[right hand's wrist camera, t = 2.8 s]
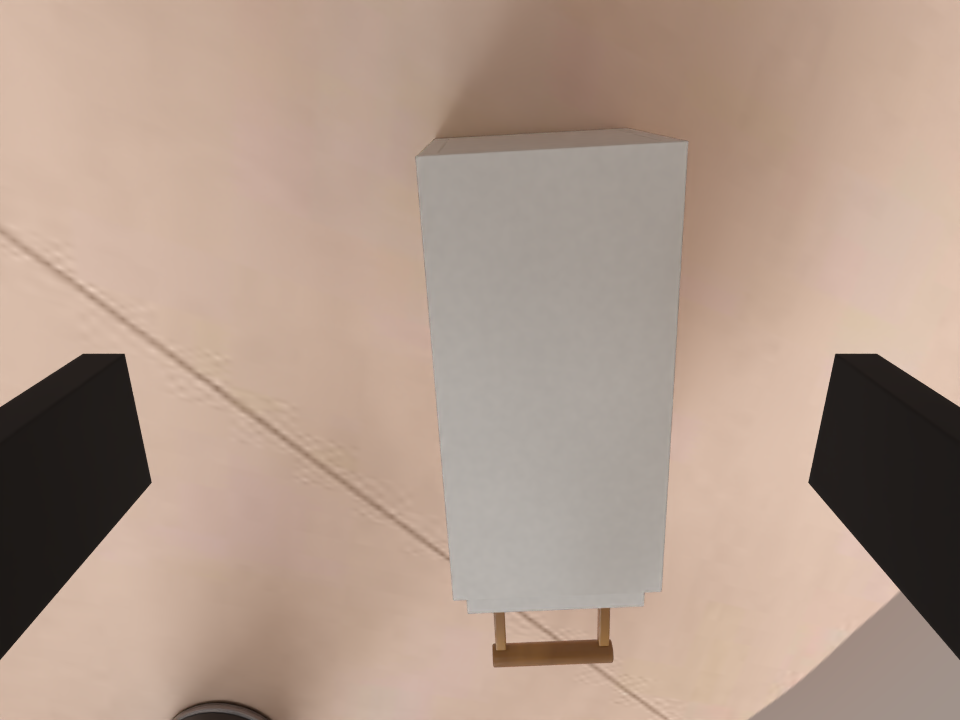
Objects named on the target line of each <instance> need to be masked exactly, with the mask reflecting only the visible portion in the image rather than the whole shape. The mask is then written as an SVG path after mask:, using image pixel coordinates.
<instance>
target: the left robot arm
mask: <svg viewBox="0 0 960 720" xmlns="http://www.w3.org/2000/svg"><path fill="white" fill-rule="evenodd" d="M173 720H268V719H266V718H265V717H263V716H262V715H260V714H258V713H256V712H254V711H252V710H250V709H247V708H244V707H241V706H237V705H232V704H225V703H209V704H202V705H197V706H194V707H191V708H189V709H186V710H184V711H183V712H181V713H179V714H178V715H177V716H176V717H175V718H174V719H173Z"/></svg>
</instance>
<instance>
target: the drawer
mask: <svg viewBox="0 0 960 720" xmlns="http://www.w3.org/2000/svg"><path fill="white" fill-rule="evenodd" d="M644 593H645V592H643V593H620V594H596V595H573V596H549V597H526V598H502V599H479V600H467V611H468V614H473V613H494V625H495V642H496V644H493V645H492V648H493V666H494V667H518V666H542V665H567V664H592V663H612V662H613V647H612V642H611V640H610V639H609V629H610V608H616V607H639V606H644ZM592 608H598V630H597V640H573V641H549V642H525V643H506V632H505V612H521V611H544V610H568V609H592Z"/></svg>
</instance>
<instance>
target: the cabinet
mask: <svg viewBox="0 0 960 720" xmlns="http://www.w3.org/2000/svg"><path fill="white" fill-rule="evenodd" d="M687 157H688V141H686V140H680V139H676V138H671V137H666V136H662V135H657V134H653V133H648V132H643V131H639V130H634V129H630V128H618V129H600V130H582V131H564V132H547V133H529V134H511V135H493V136H475V137H457V138H440V139H434V140H433V141H432V142H431V143H430V144H429V145H428V146H426V147H425V148H424V149H423V150H422V151H421V152H420V153H419V154H418V155H417V156H416V157H415V159H416V170H417V182H418V194H419V205H420V217H421V229H422V241H423V252H424V264H425V276H426V287H427V299H428V311H429V322H430V334H431V346H432V358H433V369H434V381H435V393H436V404H437V416H438V428H439V439H440V451H441V463H442V475H443V486H444V498H445V510H446V521H447V533H448V545H449V556H450V568H451V580H452V592H453V600H454V601H455V600H479V599H502V598H526V597H549V596H573V595H596V594H620V593H643V592H661V591H662V577H663V560H664V543H665V527H666V510H667V493H668V476H669V459H670V443H671V426H672V409H673V392H674V375H675V359H676V342H677V325H678V308H679V291H680V275H681V258H682V241H683V224H684V207H685V191H686V174H687Z"/></svg>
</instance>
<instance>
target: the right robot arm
mask: <svg viewBox="0 0 960 720" xmlns="http://www.w3.org/2000/svg"><path fill="white" fill-rule="evenodd" d="M151 483H152V482H151V477H150V473H149V468H148V463H147V458H146V454H145V449H144V444H143V439H142V434H141V430H140V425H139V420H138V415H137V411H136V406H135V401H134V396H133V392H132V387H131V382H130V377H129V372H128V368H127V363H126V358H125V354H82V355H80V356H79V357H77V358H76V359H74V360H73V361H71V362H70V363H68V364H67V365H65V366H63V367H62V368H60V369H59V370H57V371H56V372H54V373H53V374H51V375H49V376H48V377H46V378H45V379H43V380H42V381H40V382H39V383H37V384H35V385H34V386H32V387H31V388H29V389H28V390H26V391H25V392H23V393H21V394H20V395H18V396H17V397H15V398H14V399H12V400H11V401H9V402H8V403H6V404H4V405H3V406H1V407H0V660H1V658H2V657H3V656H4V655H5V654H6V653H7V651H8V650H9V649H10V648H11V647H12V645H13V644H14V643H15V642H16V641H17V640H18V638H19V637H20V636H21V635H22V634H23V633H24V631H25V630H26V629H27V628H28V627H29V626H30V624H31V623H32V622H33V621H34V620H35V619H36V617H37V616H38V615H39V614H40V613H41V612H42V610H43V609H44V608H45V607H46V606H47V605H48V603H49V602H50V601H51V600H52V599H53V598H54V596H55V595H56V594H57V593H58V592H59V590H60V589H61V588H62V587H63V586H64V585H65V583H66V582H67V581H68V580H69V579H70V578H71V576H72V575H73V574H74V573H75V572H76V571H77V569H78V568H79V567H80V566H81V565H82V564H83V562H84V561H85V560H86V559H87V558H88V557H89V555H90V554H91V553H92V552H93V551H94V550H95V548H96V547H97V546H98V545H99V544H100V542H101V541H102V540H103V539H104V538H105V537H106V535H107V534H108V533H109V532H110V531H111V530H112V528H113V527H114V526H115V525H116V524H117V523H118V521H119V520H120V519H121V518H122V517H123V516H124V514H125V513H126V512H127V511H128V510H129V509H130V507H131V506H132V505H133V504H134V503H135V502H136V500H137V499H138V498H139V497H140V496H141V494H142V493H143V492H144V491H145V490H146V489H147V487H148V486H149V485H150V484H151ZM808 483H809V484H810V485H811V486H812V487H813V489H814V490H815V491H816V492H817V493H818V494H819V496H820V497H821V498H822V499H823V500H824V502H825V503H826V504H827V505H828V506H829V507H830V509H831V510H832V511H833V512H834V513H835V514H836V516H837V517H838V518H839V519H840V520H841V521H842V523H843V524H844V525H845V526H846V527H847V528H848V530H849V531H850V532H851V533H852V534H853V535H854V537H855V538H856V539H857V540H858V541H859V542H860V544H861V545H862V546H863V547H864V548H865V550H866V551H867V552H868V553H869V554H870V555H871V557H872V558H873V559H874V560H875V561H876V562H877V564H878V565H879V566H880V567H881V568H882V569H883V571H884V572H885V573H886V574H887V575H888V576H889V578H890V579H891V580H892V581H893V582H894V583H895V585H896V586H897V587H898V588H899V589H900V590H901V592H902V593H903V594H904V595H905V596H906V597H907V599H908V600H909V601H910V602H911V603H912V605H913V606H914V607H915V608H916V609H917V610H918V612H919V613H920V614H921V615H922V616H923V617H924V619H925V620H926V621H927V622H928V623H929V624H930V626H931V627H932V628H933V629H934V630H935V631H936V633H937V634H938V635H939V636H940V637H941V638H942V640H943V641H944V642H945V643H946V644H947V645H948V647H949V648H950V649H951V650H952V651H953V653H954V654H955V655H956V656H957V657H958V658H959V660H960V407H959V406H957V405H956V404H954V403H952V402H951V401H949V400H948V399H946V398H945V397H943V396H942V395H940V394H939V393H937V392H935V391H934V390H932V389H931V388H929V387H928V386H926V385H925V384H923V383H921V382H920V381H918V380H917V379H915V378H914V377H912V376H911V375H909V374H907V373H906V372H904V371H903V370H901V369H900V368H898V367H897V366H895V365H893V364H892V363H890V362H889V361H887V360H886V359H884V358H883V357H881V356H880V355H878V354H835V358H834V363H833V368H832V372H831V377H830V382H829V387H828V392H827V396H826V401H825V406H824V411H823V415H822V420H821V425H820V430H819V434H818V439H817V444H816V449H815V454H814V458H813V463H812V468H811V473H810V477H809V482H808Z"/></svg>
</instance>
